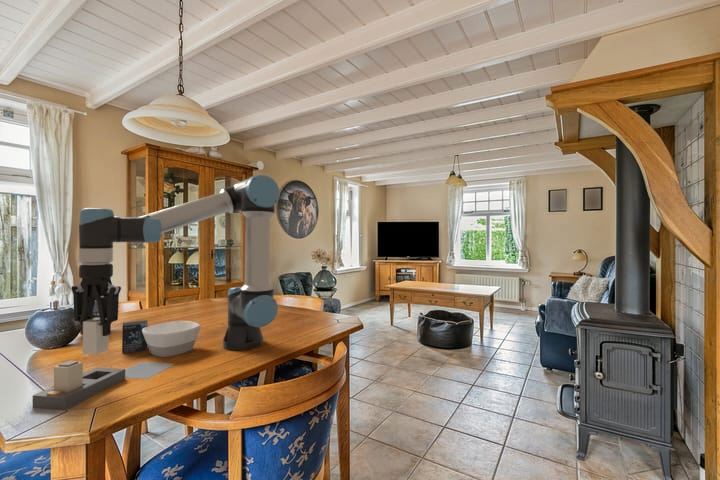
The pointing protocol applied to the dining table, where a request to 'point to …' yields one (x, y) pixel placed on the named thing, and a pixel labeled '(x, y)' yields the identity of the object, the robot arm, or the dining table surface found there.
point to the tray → (146, 370)
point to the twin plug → (68, 376)
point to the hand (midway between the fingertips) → (95, 346)
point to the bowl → (171, 337)
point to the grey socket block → (79, 389)
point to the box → (133, 336)
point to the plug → (91, 337)
